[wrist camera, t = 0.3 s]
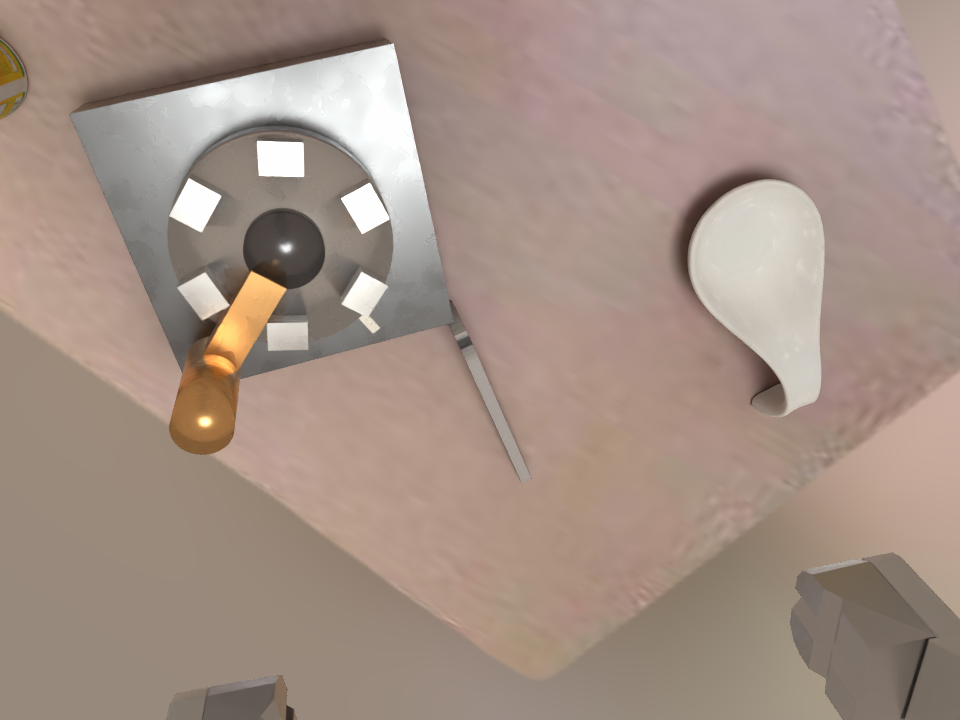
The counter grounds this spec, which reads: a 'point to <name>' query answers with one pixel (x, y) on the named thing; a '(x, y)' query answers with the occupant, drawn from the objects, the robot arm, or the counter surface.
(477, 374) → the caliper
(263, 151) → the rotary crank dial
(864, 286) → the counter surface
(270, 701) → the robot arm
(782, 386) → the spoon rest
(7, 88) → the supplement bottle
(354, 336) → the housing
